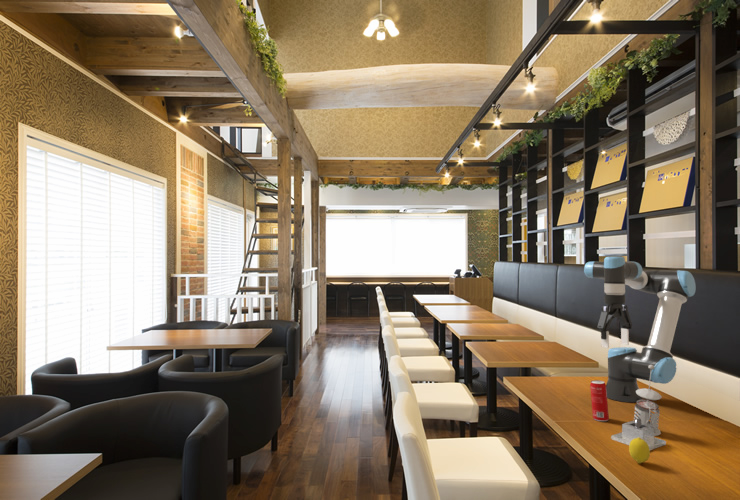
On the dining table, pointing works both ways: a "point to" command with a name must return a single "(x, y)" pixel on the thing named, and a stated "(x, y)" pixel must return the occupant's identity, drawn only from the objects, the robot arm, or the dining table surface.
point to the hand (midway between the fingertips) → (615, 345)
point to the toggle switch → (619, 438)
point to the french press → (648, 407)
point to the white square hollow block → (637, 431)
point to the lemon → (639, 450)
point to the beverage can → (599, 400)
